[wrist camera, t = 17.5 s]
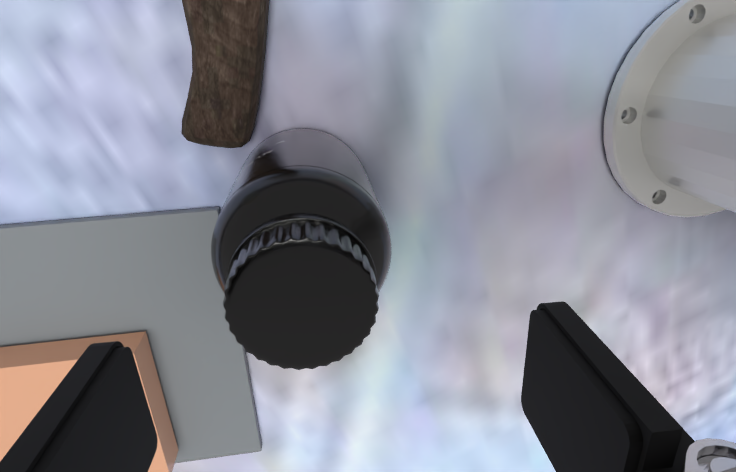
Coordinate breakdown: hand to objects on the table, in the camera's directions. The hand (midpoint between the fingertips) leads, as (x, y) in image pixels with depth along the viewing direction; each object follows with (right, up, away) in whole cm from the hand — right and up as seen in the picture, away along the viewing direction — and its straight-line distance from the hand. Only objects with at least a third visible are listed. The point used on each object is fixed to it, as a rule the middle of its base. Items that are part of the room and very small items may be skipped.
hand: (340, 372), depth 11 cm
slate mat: (-15, -4, +16) cm, 23 cm away
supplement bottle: (-3, +6, +14) cm, 16 cm away
